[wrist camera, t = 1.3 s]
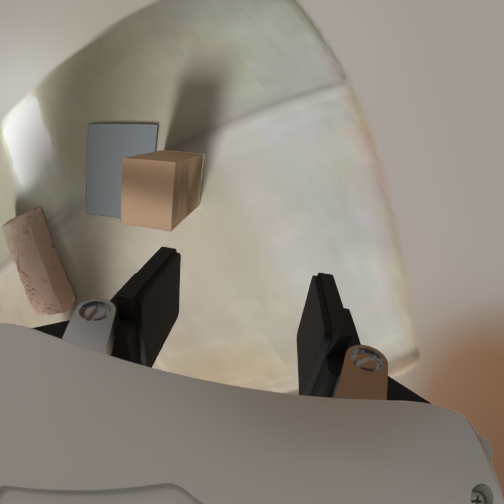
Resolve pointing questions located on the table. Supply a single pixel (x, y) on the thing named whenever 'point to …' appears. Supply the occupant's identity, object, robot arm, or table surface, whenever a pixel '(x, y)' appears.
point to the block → (160, 188)
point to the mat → (113, 162)
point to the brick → (38, 263)
